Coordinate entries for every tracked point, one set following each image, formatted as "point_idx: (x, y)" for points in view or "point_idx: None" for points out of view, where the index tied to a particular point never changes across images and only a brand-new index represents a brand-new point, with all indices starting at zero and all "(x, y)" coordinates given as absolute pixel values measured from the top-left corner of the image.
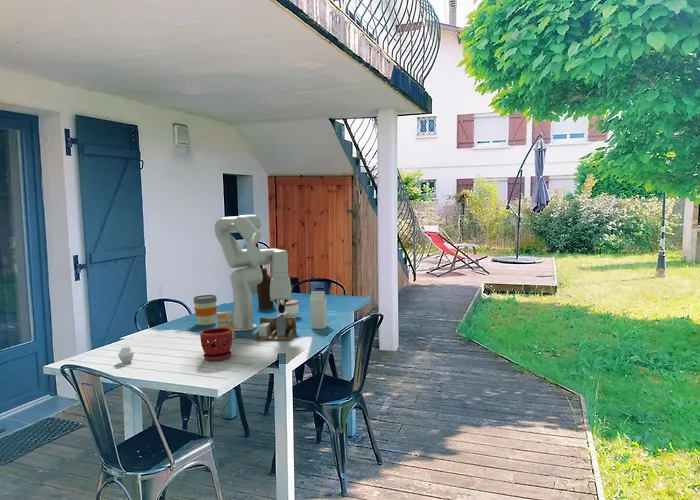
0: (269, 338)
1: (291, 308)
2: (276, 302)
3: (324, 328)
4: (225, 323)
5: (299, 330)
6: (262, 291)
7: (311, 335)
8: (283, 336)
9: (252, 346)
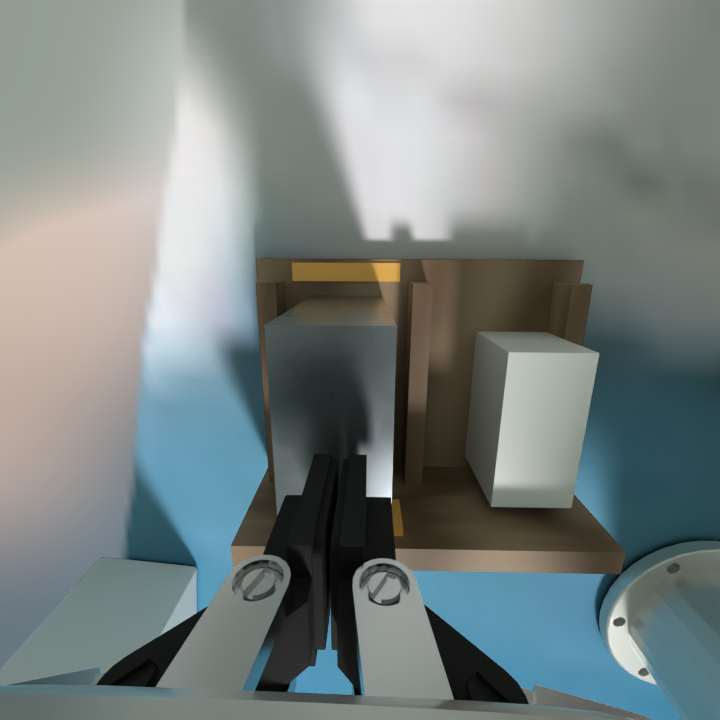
0: (440, 261)
1: None
2: (445, 645)
3: (99, 561)
4: None
5: None
6: None
7: (139, 399)
8: (325, 296)
9: (558, 59)
